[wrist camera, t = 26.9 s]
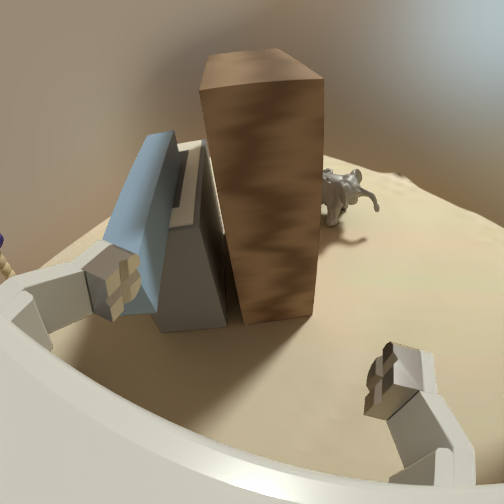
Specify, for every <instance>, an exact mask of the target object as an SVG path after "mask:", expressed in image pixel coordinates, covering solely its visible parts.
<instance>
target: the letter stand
mask: <svg viewBox="0 0 504 504" xmlns="http://www.w3.org/2000/svg"><path fill="white" fill-rule="evenodd" d="M177 145H178V150H179V154H180V158H181V166H180V171H179V176H178V181H177V186H176V191H175V196H174V201H173V207H172V212H171V218H170V224H169V230H168V236H167V242H166V248H165V255H164V262H163V269H162V276H161V283H160V291H159V299H158V308H157V313H150V314H151V316H152V318H153V319H154V321H155V323H156V324H157V326H158V328H159V329H160V331H161V333H167V332H179V331H190V330H201V329H211V328H220V327H227V317H226V297H225V276H224V251H223V227H222V222H221V217H220V212H219V207H218V202H217V196H216V191H215V186H214V181H213V176H212V170H211V165H210V160H209V156H208V150H207V144H206V140H205V139H204V140H198V141H192V142H186V143H181V144H177Z"/></svg>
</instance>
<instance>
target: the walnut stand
mask: <svg viewBox="0 0 504 504" xmlns="http://www.w3.org/2000/svg"><path fill="white" fill-rule="evenodd" d="M199 94H200V99H201V105H202V111H203V117H204V122H205V128H206V134H207V139H208V145H209V150H210V156H211V161H212V167H213V172H214V177H215V183H216V188H217V193H218V198H219V204H220V209H221V214H222V219H223V224H224V229H225V234H226V239H227V244H228V249H229V254H230V259H231V264H232V269H233V274H234V279H235V284H236V289H237V293H238V298H239V303H240V308H241V312H242V317H243V322H244V325H246V324H254V323H261V322H269V321H276V320H283V319H290V318H297V317H303V316H309V315H312V313H313V304H314V294H315V284H316V272H317V261H318V248H319V234H320V219H321V201H322V179H323V148H324V79H323V78H322V77H320V76H319V75H318V74H316V73H314V72H313V71H312V70H310V69H309V68H307V67H306V66H304V65H303V64H301V63H300V62H298V61H297V60H295V59H294V58H292V57H291V56H289V55H287V54H286V53H284V52H282V51H281V50H279V49H262V50H251V51H241V52H232V53H225V54H217V55H210V56H208V60H207V63H206V67H205V71H204V74H203V77H202V81H201V85H200V88H199Z"/></svg>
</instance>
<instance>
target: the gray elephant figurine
mask: <svg viewBox="0 0 504 504" xmlns="http://www.w3.org/2000/svg"><path fill="white" fill-rule="evenodd" d="M361 180H362V174H361V172H360V171H359V170H358V169H355V170H353V171H352V172H351V173H350V174H346V175H336V174H333V170H332V169H328V168H327V169H325V170H323V179H322V201H321V204H323V203H324V204H325V205H326V206H327V210H328V214H327V217H326V223H327V225H328V226H334V225H336V224H337V223H338V221H339V220H338V216H339V213H340V210H341V208H343V209H347V208H348V204H349V205H354V204H356V203H357V201H358V197H360V196H367V197H369V198H370V199H371V200H372V201H373V203H374V210H375V211H376V212H378V211H379V205H378V204H377V199H376V197H375V195H374V194H373V193H372V192H369V191H367V190H365V189H363V188H361V186H360V185H359V184H360V182H361Z"/></svg>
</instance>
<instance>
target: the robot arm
mask: <svg viewBox="0 0 504 504" xmlns="http://www.w3.org/2000/svg"><path fill="white" fill-rule="evenodd" d="M139 266H140V257H139V256H138V255H137V254H135V253H133V252H131V251H128V250H126V249H124V248H121V247H119V246H117V245H115V244H111V243H109V242H107V241H105V240H98V241H97V242H96V243H95V244H93V245H92V246H91V247H89V248H88V249H87V250H86V251H84V252H83V253H82V254H81V255H79V256H78V257H77V258H76V259H74V260H73V261H72V262H71V263H67V262H65V263H61V264H57V265H53V266H50V267H46V268H42V269H38V270H35V271H31V272H28V273H24V274H20V275H17V276H13V277H10V278H8V279H7V280H6V281H5V282H4V283H2V284H1V285H0V504H504V483H499V484H488V485H476V469H475V449H474V448H473V446H472V444H471V442H470V441H469V439H468V437H467V436H466V434H465V432H464V431H463V429H462V427H461V426H460V424H459V423H458V421H457V419H456V418H455V416H454V415H453V413H452V411H451V410H450V408H449V407H448V405H447V404H446V402H445V400H444V399H443V397H442V396H441V395H438V393H437V383H436V374H435V366H434V358H433V355H432V353H431V352H428V351H424V350H420V349H415V348H412V347H408V346H405V345H401V344H397V343H394V342H389V343H387V344H386V346H385V347H384V348H383V355H382V356H380V357H378V358H376V359H375V361H374V362H373V364H372V365H371V367H370V370H369V372H368V376H367V383H366V386H367V388H368V390H369V391H370V392H369V394H368V395H367V396H366V397H365V405H364V415H366V416H370V417H374V418H378V419H382V420H386V421H387V425H388V427H389V430H390V432H391V435H392V437H393V440H394V442H395V445H396V447H397V450H398V453H399V455H400V458H401V460H402V463H403V466H404V468H405V469H403V470H401V471H400V472H398V473H396V474H394V475H393V476H391V477H390V478H389V483H386V482H378V481H370V480H363V479H356V478H350V477H344V476H339V475H334V474H329V473H324V472H319V471H314V470H310V469H306V468H302V467H298V466H294V465H290V464H286V463H282V462H279V461H275V460H272V459H268V458H265V457H262V456H259V455H255V454H252V453H249V452H246V451H243V450H240V449H237V448H235V447H232V446H229V445H226V444H223V443H221V442H218V441H215V440H213V439H210V438H208V437H205V436H203V435H200V434H198V433H195V432H193V431H191V430H188V429H186V428H184V427H181V426H179V425H177V424H175V423H173V422H170V421H168V420H166V419H164V418H162V417H160V416H158V415H156V414H154V413H152V412H150V411H148V410H146V409H144V408H142V407H140V406H138V405H136V404H134V403H132V402H130V401H128V400H126V399H125V398H123V397H121V396H119V395H117V394H116V393H114V392H112V391H110V390H109V389H107V388H105V387H104V386H102V385H100V384H98V383H97V382H95V381H94V380H92V379H90V378H89V377H87V376H86V375H84V374H82V373H81V372H79V371H78V370H76V369H75V368H73V367H72V366H70V365H69V364H67V363H66V362H64V361H63V360H61V359H60V358H58V357H57V356H56V355H54V354H53V353H51V352H50V351H51V350H52V349H53V344H52V342H51V340H50V337H49V335H48V334H50V333H52V332H54V331H56V330H59V329H61V328H63V327H65V326H68V325H70V324H72V323H74V322H76V321H79V320H81V319H83V318H85V317H88V316H90V315H92V314H93V313H95V314H97V315H99V316H101V317H103V318H105V319H107V320H109V321H111V322H114V321H115V320H116V318H117V317H118V316H119V315H120V314H121V313H122V312H123V310H124V304H125V303H128V302H131V301H132V300H133V299H134V298H135V297H136V295H137V293H138V291H139V289H140V285H141V275H140V273H139V272H138V270H137V268H138V267H139Z"/></svg>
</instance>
